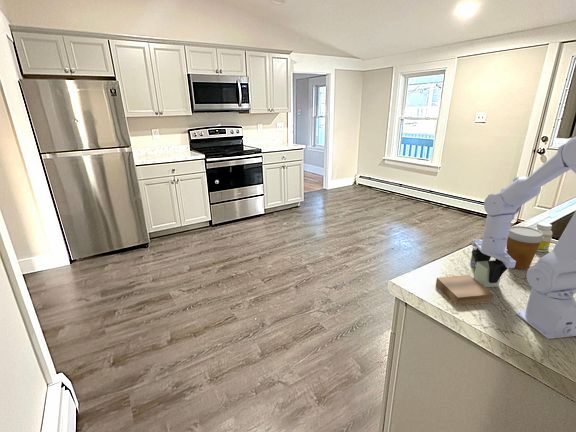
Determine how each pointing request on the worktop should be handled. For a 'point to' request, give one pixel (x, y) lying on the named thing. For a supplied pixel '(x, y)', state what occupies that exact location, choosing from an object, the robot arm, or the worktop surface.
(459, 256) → the worktop surface
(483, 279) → the sage block
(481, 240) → the pill bottle
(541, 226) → the supplement bottle
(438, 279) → the walnut base
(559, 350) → the worktop surface
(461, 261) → the worktop surface
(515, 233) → the disposable coffee cup
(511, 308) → the worktop surface
